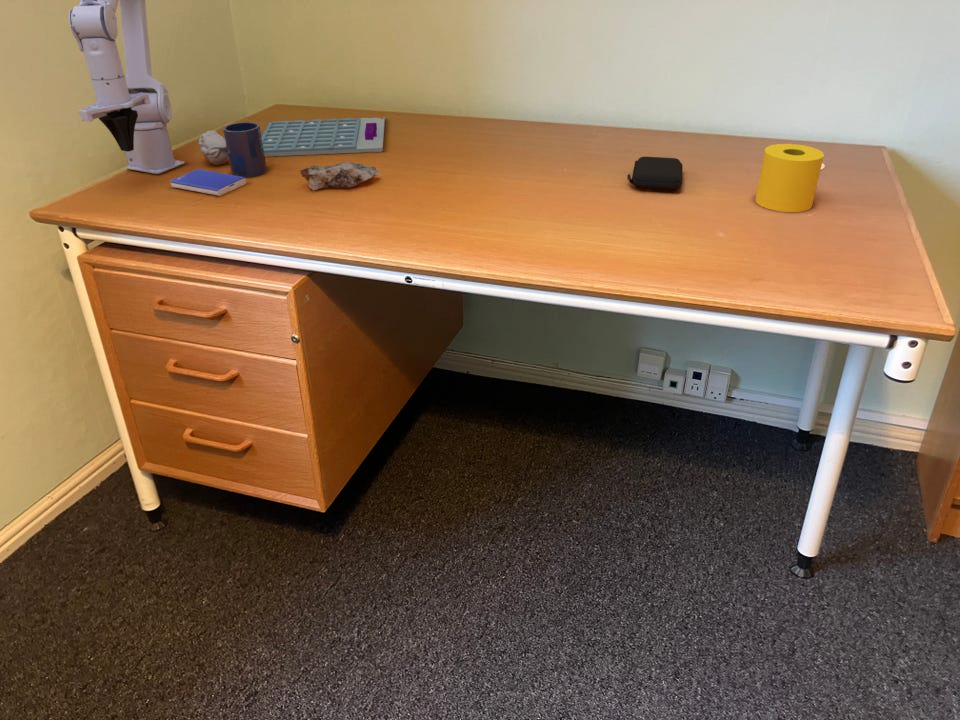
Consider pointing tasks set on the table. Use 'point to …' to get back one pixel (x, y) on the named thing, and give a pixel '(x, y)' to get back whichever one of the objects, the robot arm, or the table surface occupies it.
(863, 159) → the table surface
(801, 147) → the yellow toilet paper roll
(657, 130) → the table surface
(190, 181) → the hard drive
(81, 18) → the robot arm
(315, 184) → the mineral rock
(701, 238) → the table surface
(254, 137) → the pen cup
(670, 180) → the carrying case
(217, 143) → the grey rounded lump
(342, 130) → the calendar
